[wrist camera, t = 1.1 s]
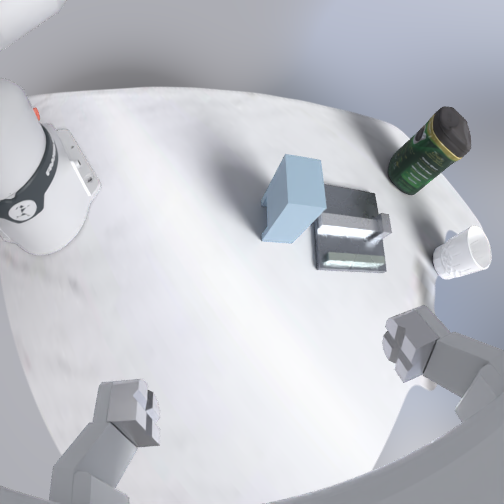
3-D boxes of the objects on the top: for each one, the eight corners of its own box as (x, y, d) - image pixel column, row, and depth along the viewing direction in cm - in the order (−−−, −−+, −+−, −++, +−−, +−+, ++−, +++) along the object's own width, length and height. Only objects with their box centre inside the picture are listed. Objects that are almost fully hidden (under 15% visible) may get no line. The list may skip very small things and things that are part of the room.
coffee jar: (412, 203, 52) (477, 154, 34) (382, 179, 52) (443, 121, 34) (420, 172, 55) (475, 124, 38) (392, 149, 55) (444, 95, 38)
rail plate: (317, 269, 43) (328, 262, 39) (310, 185, 47) (320, 172, 44) (382, 272, 45) (397, 266, 42) (371, 195, 50) (383, 185, 46)
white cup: (440, 288, 47) (479, 275, 38) (424, 250, 49) (461, 231, 40) (459, 274, 50) (495, 260, 40) (445, 238, 51) (480, 220, 42)
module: (261, 241, 43) (288, 203, 31) (261, 196, 45) (285, 149, 34) (291, 243, 43) (326, 208, 32) (289, 199, 46) (320, 156, 34)
